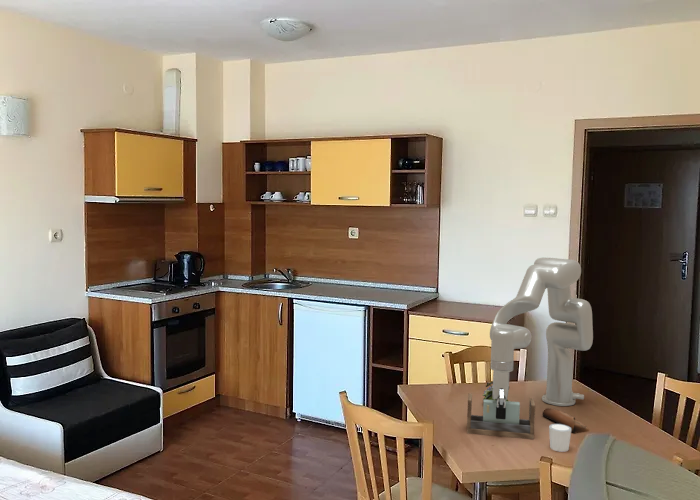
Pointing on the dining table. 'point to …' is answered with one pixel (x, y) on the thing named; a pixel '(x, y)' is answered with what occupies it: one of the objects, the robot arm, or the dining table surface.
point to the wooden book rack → (501, 424)
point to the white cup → (559, 437)
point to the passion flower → (489, 392)
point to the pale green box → (511, 412)
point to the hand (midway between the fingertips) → (500, 414)
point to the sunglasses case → (565, 420)
